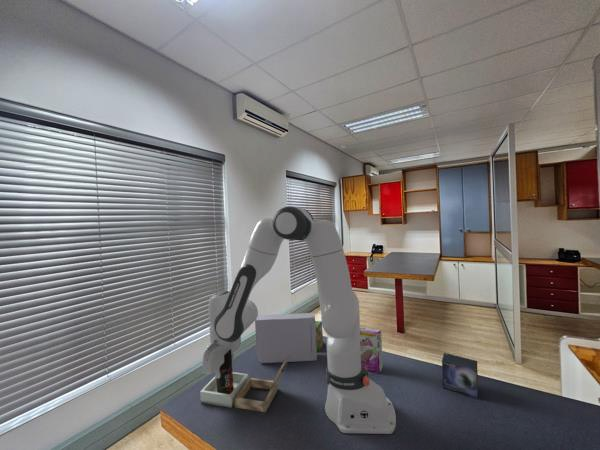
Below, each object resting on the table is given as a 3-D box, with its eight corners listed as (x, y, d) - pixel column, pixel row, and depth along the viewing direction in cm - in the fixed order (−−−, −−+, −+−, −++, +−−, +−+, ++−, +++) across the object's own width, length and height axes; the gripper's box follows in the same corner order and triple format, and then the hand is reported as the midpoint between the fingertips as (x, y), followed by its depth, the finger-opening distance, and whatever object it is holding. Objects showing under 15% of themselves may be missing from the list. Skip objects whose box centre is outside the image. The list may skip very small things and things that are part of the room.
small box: (442, 388, 89) (441, 360, 89) (444, 378, 94) (443, 351, 94) (478, 400, 83) (476, 369, 82) (478, 389, 88) (477, 360, 88)
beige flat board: (277, 380, 93) (280, 382, 93) (265, 402, 82) (268, 405, 82) (288, 354, 92) (291, 356, 91) (277, 373, 81) (280, 375, 80)
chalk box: (319, 352, 118) (317, 321, 117) (301, 350, 121) (299, 320, 120) (323, 342, 126) (322, 314, 126) (306, 341, 129) (305, 313, 129)
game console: (317, 361, 110) (315, 317, 110) (257, 364, 111) (254, 320, 110) (316, 354, 116) (314, 312, 116) (259, 356, 117) (257, 315, 116)
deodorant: (224, 398, 89) (221, 357, 88) (213, 392, 92) (211, 353, 92) (236, 388, 94) (234, 349, 93) (226, 383, 97) (224, 346, 97)
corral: (277, 389, 93) (277, 381, 93) (265, 412, 82) (265, 403, 82) (250, 385, 96) (249, 377, 96) (234, 407, 85) (234, 398, 85)
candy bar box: (353, 367, 105) (351, 328, 104) (357, 361, 109) (355, 324, 109) (380, 374, 99) (378, 334, 98) (383, 368, 103) (381, 329, 103)
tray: (248, 384, 97) (248, 374, 97) (231, 407, 85) (231, 396, 85) (221, 380, 101) (220, 370, 100) (200, 402, 88) (200, 391, 88)
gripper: (212, 350, 82) (214, 391, 82) (242, 324, 101) (244, 357, 102) (196, 348, 83) (198, 388, 84) (229, 323, 103) (231, 355, 103)
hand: (224, 371), depth 93 cm, fingers closed on deodorant, 6 cm apart
